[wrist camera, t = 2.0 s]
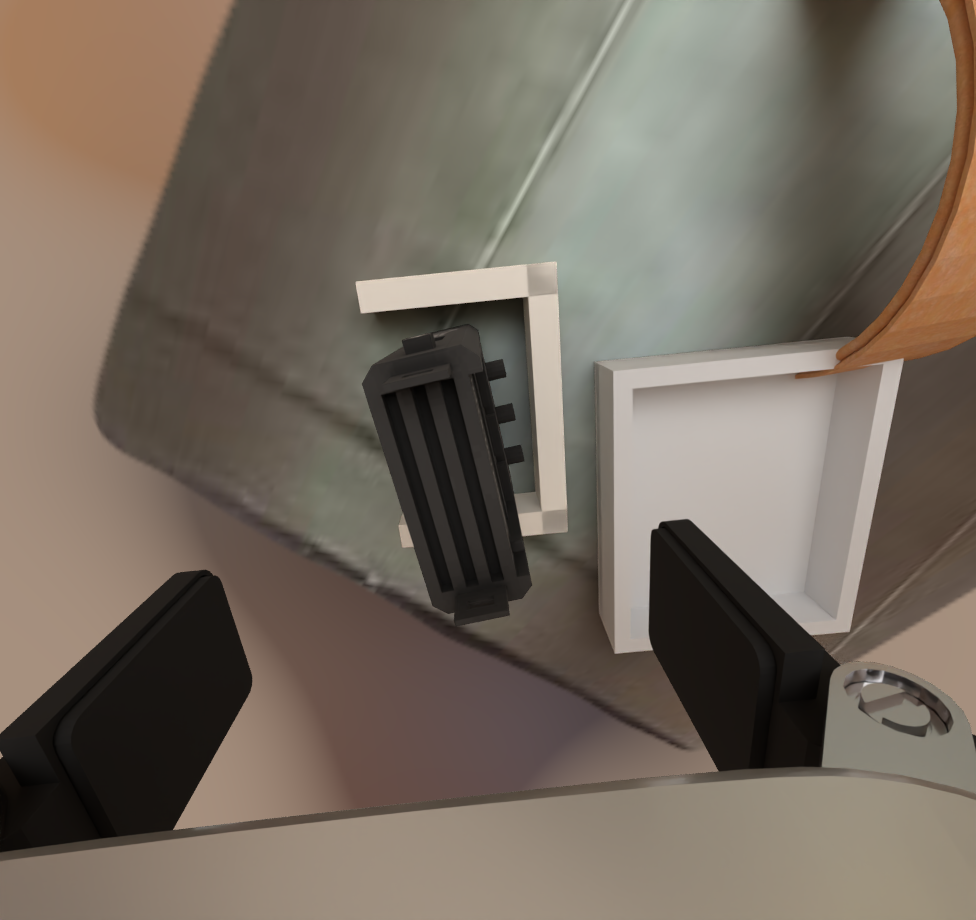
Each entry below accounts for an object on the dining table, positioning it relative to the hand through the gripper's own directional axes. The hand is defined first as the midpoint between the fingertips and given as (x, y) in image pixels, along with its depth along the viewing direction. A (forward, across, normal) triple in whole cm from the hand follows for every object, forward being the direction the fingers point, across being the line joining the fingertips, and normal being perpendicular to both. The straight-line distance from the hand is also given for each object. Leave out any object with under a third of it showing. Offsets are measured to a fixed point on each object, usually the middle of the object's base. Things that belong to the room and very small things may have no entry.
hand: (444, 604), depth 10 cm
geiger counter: (+19, -1, 0) cm, 19 cm away
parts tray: (+19, -16, +7) cm, 25 cm away
